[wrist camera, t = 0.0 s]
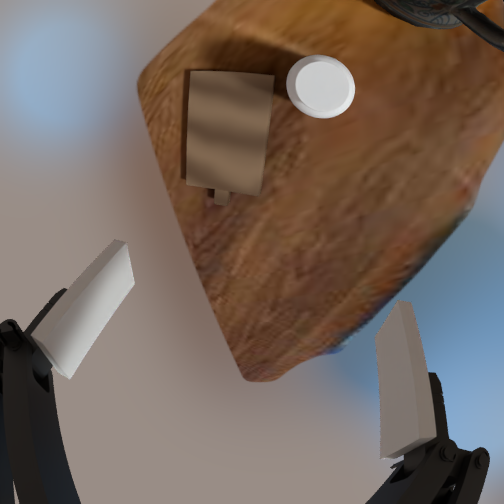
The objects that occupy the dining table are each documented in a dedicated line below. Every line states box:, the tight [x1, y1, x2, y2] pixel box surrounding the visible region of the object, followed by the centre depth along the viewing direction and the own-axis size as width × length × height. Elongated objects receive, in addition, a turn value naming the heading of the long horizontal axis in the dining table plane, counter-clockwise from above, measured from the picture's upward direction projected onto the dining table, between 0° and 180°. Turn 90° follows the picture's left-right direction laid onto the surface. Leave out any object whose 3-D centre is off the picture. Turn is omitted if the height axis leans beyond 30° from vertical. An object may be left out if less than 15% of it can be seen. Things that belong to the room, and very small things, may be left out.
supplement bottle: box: [286, 55, 355, 118], centre depth 24 cm, size 7×7×13 cm
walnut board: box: [186, 71, 276, 206], centre depth 35 cm, size 19×11×2 cm, turn 174°
